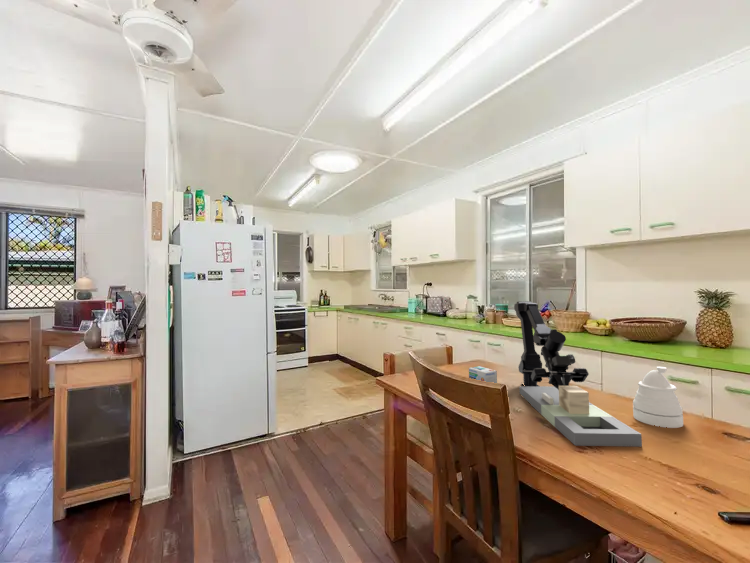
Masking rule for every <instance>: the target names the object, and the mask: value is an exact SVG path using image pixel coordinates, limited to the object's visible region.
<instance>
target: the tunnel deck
mask: <svg viewBox="0 0 750 563" xmlns="http://www.w3.org/2000/svg"><path fill="white" fill-rule="evenodd" d="M520 394H521V395H522V396H523V397H524V398H525V399H526V400H527V401H528V402H529V403H530V404H531V405H530V404H529V403H528V402H527V401H526V400H525V399H524V398H523V397H522V396H521V395H520ZM519 395H520V396H521V397H522V398H523V399H524V400H525V401H526V402H527V403H528V404H529V405H530V406H531V407H533V408H534V409H535V410H536V411H537V412H538V413H539V414H540V415H541V416H542V417H543V418H544V419H546V420H547V421H548V422H549V423H550V424H551V425H552V426H553V427H555V429H556V430H558V431H559V433H561V434H562V435H563V436H564V437H565V438H566V439H568V441H570V442H571V444H573V445H574V446H576V447H577V446H578V447H579V446H587V447H588V446H590V447H591V446H593V447H596V446H597V447H641V448H642V447H643V442H642V441H643V440H642V433H641V432H639V431H637V430H636V429H634V428H632V427H630V426H629V425H627V424H626V423H624V422H622V421H621V420H620V419H617V418H616V417H614V416H613V415H611V414H609V413H608V412H606V410H605V411H604V410H603V409H601V408H599V407H598V406H596V405H595V404H593V403H591V402H590V401H589V414H570V413H569V412H567V411H566V410H565V409H563V408H562V407H561V406H559V390H558V389H557V388H556V387H554V386H553V385H552V386H551V385H550V386H544V385H543V386H540V385H539V386H523V385H522V386H519Z"/></svg>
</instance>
